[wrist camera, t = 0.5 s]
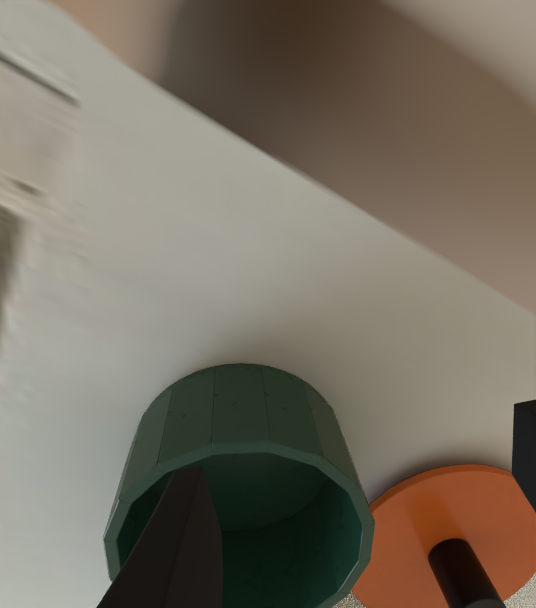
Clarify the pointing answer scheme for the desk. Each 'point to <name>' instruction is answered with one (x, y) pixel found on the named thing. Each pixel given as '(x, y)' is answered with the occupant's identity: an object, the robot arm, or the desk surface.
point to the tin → (254, 485)
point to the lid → (450, 541)
